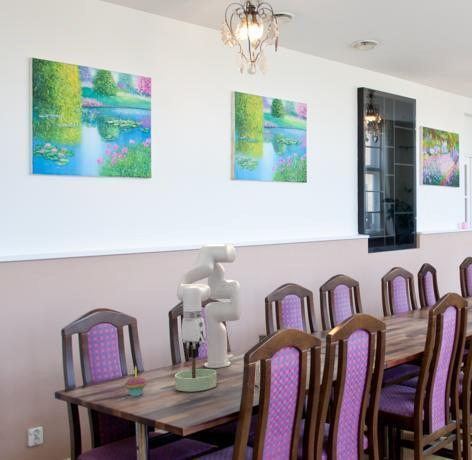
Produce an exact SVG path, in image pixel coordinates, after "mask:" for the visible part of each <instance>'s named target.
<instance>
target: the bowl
mask: <svg viewBox="0 0 472 460" xmlns="http://www.w3.org/2000/svg"><path fill="white" fill-rule="evenodd" d="M217 375H218V374H217V371H216V370H214V369H212V368H196V377H199V378H192V369H187V370H182V371H178V372H177V373H175V374H174V389H175V390H177V391H180V392H186V393H191V392H192V393H195V392H203V391H207V390H210V389H213V388H215V387H216V386H217V384H218V381H217V377H218V376H217Z"/></svg>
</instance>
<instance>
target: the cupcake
mask: <svg viewBox="0 0 472 460" xmlns="http://www.w3.org/2000/svg"><path fill="white" fill-rule="evenodd" d="M137 368H138V367H137V365H136V364H135V367H134V377H130V378H129V379H127V381H126V382H124V387H125V388H126V389H127V391H128V394H129V396H130V397H138V396H141V395H143V392H144V389H145V387H146V386H148V381H147V379H145V378H143V377H139V376H138V369H137Z"/></svg>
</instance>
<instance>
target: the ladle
mask: <svg viewBox="0 0 472 460" xmlns="http://www.w3.org/2000/svg"><path fill="white" fill-rule="evenodd" d="M192 349H193V345H192V346H191V356H192ZM196 362H197V361H196V358H192V357H191V370H192V378H199V377H196V369H197V368H196V367H197V366H196V365H197V363H196Z"/></svg>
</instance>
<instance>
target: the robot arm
mask: <svg viewBox="0 0 472 460" xmlns="http://www.w3.org/2000/svg"><path fill="white" fill-rule="evenodd" d="M236 257H237V251H236V248H235V246H234V245H231V244H223V243H222V244H204V245H202V246H201V247H200V248H199V250H198V253H197V256H196V260H195V262H194V263H195V264H194V266H192V267H191V268H190V269H188V270H187V271H186V272H184V274H183V275H182V276H181V277H180V279H179V281H178V285H177V288H176V297H177V299H178V300H179V301H180V302H182V307H183V310H182V311H183V318H182V321H181V343H183V344H184V345H185V346H186V349H187V354H188V355H187V358H188V359H192V358H195V359H196V358H199V356H200V355H199V354H200V353H199V351H200V350H199V349H200V347H201V346H202V345H204V344H205V340H206V349H207V350H206V352H207V353H206V354H207V356H206V358H207V362H205V363H204V365H203V366H204V367H205V368H206V369H222V368H226V367H229V366H230V365H231V361H230V359H233V358H234V355H233V354H228V333H227V330H228V329H227V327H226V325H225V324H224V323H223V322H236V321H239V320H240V318H241V315H242V291H241V284H240V282H239V281H238V280H235V279H226V268H225V267H224V266H223V263H225V264H226V263H233V262H235V260H236ZM204 279H207V284H205V283H196V282H198V281H201V280H204ZM209 299H211V300H230V301H213V302H208V303H207V304H206V305H205V306H204V314H203V311H202V309H203V308H202V302H205V301H208V300H209ZM203 315H204V317H205V320H204V318H203ZM205 323H206V325H205ZM192 345H193V349H192V356H191V346H192Z"/></svg>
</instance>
